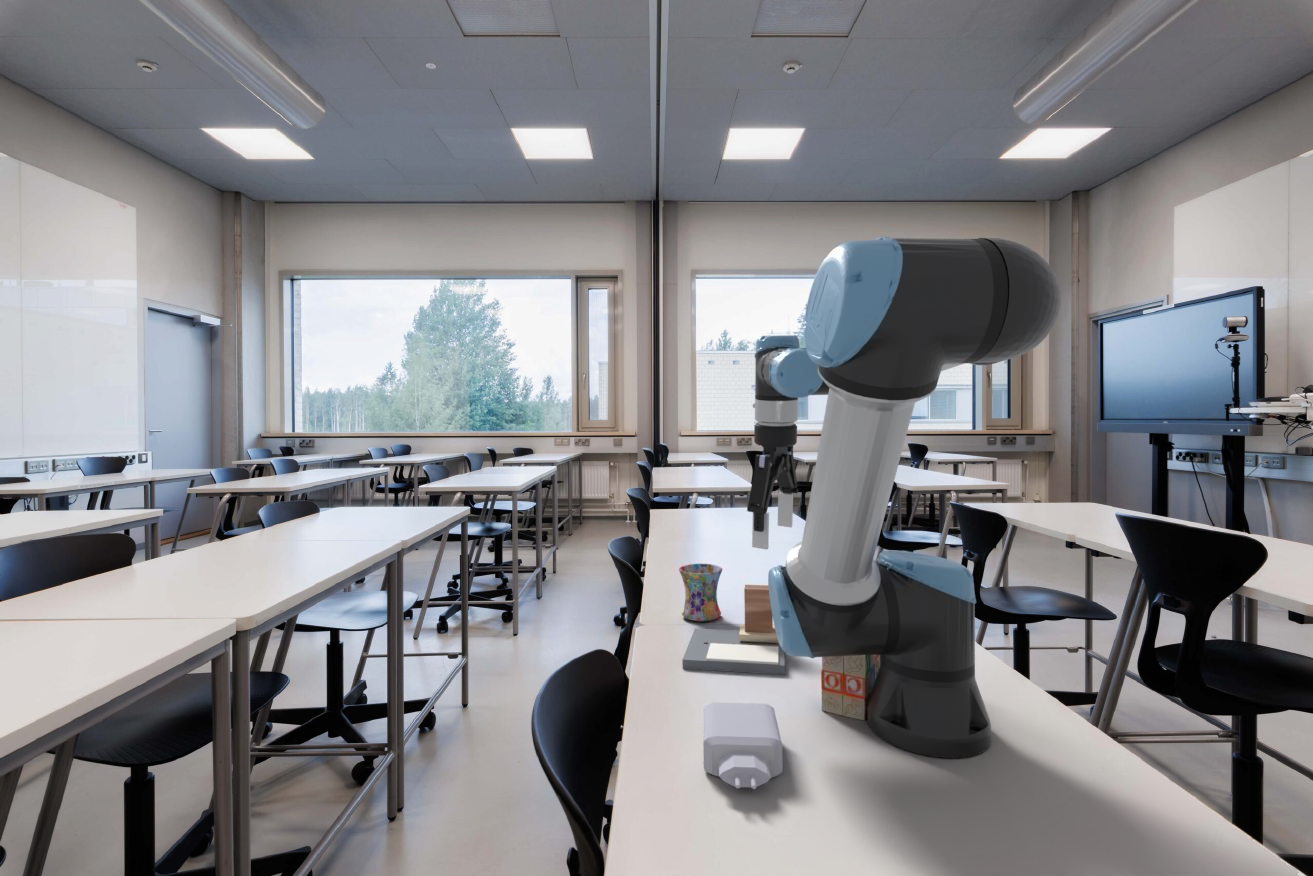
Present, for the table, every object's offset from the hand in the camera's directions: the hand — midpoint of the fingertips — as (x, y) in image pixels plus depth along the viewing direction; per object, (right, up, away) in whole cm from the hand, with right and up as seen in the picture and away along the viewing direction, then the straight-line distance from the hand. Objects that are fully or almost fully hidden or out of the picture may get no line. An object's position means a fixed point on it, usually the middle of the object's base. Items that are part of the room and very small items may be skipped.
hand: (773, 536), depth 112 cm
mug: (-12, -21, +20) cm, 31 cm away
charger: (-11, -22, -39) cm, 46 cm away
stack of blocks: (+10, -21, -18) cm, 29 cm away
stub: (-2, -19, +1) cm, 19 cm away
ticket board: (-7, -21, -3) cm, 22 cm away
